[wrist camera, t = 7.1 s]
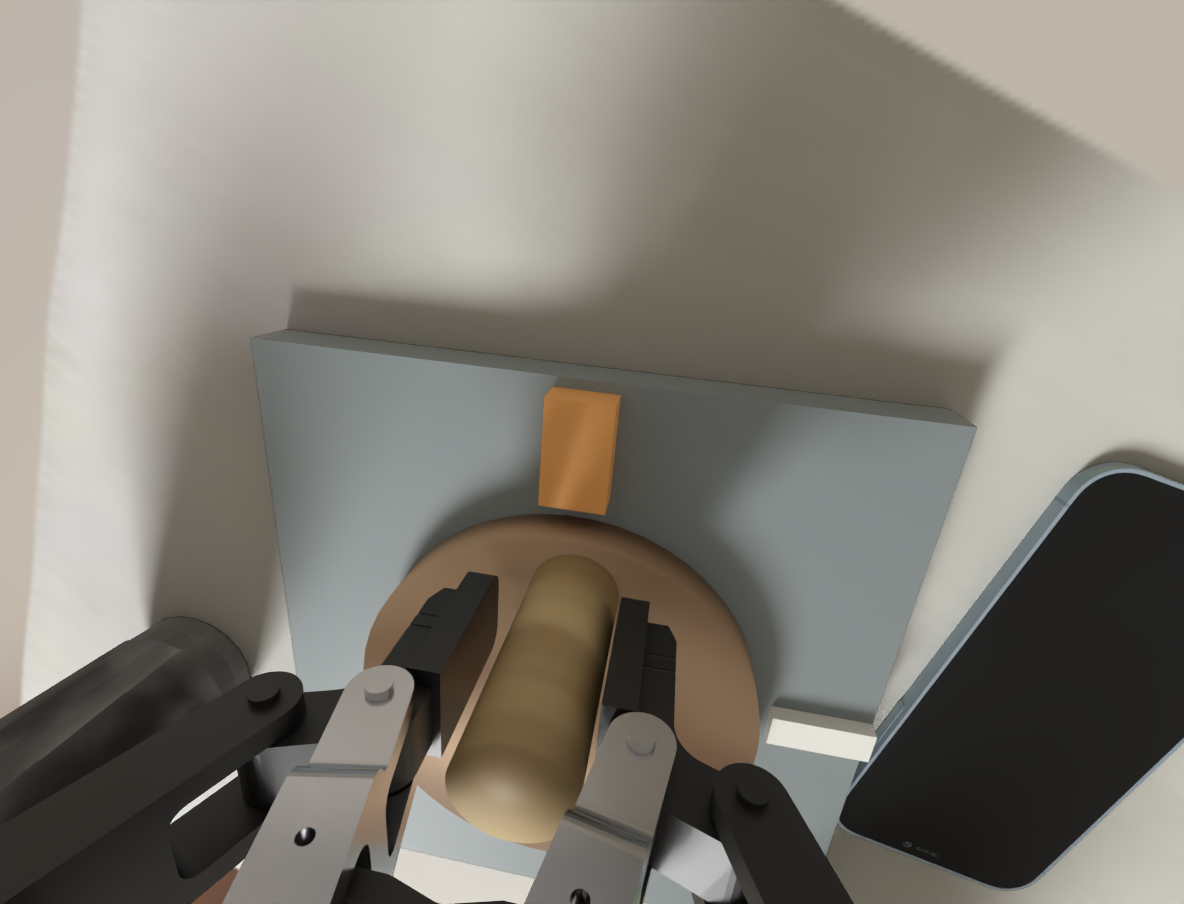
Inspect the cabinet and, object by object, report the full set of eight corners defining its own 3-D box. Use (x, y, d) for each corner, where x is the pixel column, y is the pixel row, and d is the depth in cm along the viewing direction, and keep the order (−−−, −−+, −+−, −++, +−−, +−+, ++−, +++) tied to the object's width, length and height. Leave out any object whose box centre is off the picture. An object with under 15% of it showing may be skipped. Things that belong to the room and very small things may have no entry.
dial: (703, 849, 20) (711, 1168, 13) (383, 765, 21) (237, 1020, 14) (804, 565, 16) (895, 826, 9) (391, 475, 17) (184, 646, 10)
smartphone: (1381, 559, 15) (1019, 900, 20) (1342, 541, 15) (1006, 873, 21) (1101, 454, 15) (821, 822, 20) (1079, 442, 15) (815, 799, 21)
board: (950, 409, 15) (998, 441, 13) (790, 894, 23) (801, 969, 20) (285, 329, 17) (223, 344, 15) (337, 796, 25) (302, 854, 22)
